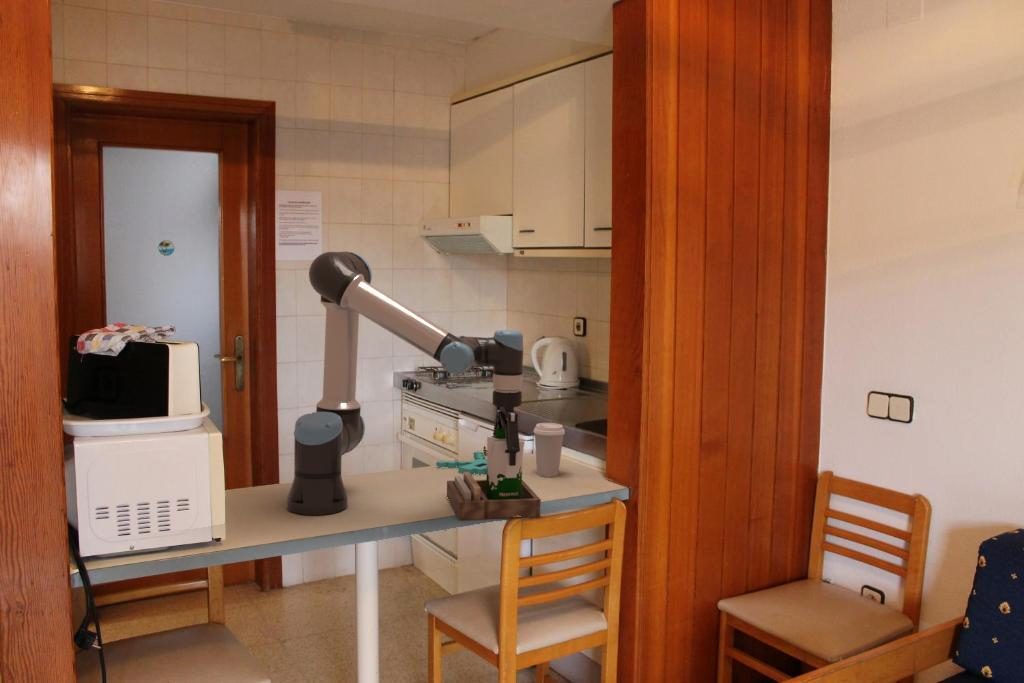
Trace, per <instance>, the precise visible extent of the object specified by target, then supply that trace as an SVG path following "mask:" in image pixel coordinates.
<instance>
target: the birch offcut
mask: <svg viewBox="0 0 1024 683" xmlns="http://www.w3.org/2000/svg"><path fill="white" fill-rule="evenodd" d="M462 479H463V481H464V482H465V484H466V485H467V487H468V488H469V490H470V491H471V501H475V500H480V495H481V488H480V486H479V485H478V484H477V482H476V481H475V480H476V479H475V478H474V477H473V475H471V474H470V472H464V474H463V477H462Z"/></svg>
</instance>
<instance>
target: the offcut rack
mask: <svg viewBox="0 0 1024 683" xmlns="http://www.w3.org/2000/svg"><path fill="white" fill-rule="evenodd" d="M475 481H476V482H477V484H478V485H479V486H480V488H481V495H480V500H475V501H464V500H463V499H462V497H461V495H460V494H459V492H458V490H457V489H456V487H455V486H454V483H455V480H446V498H447V497H448V499H449V500H448V499H447V500H448V502H449V501H450V502H449V504H450V503H451V504H450V506H451V505H452V506H451V508H452V507H453V508H452V510H453V511H454V512H455V515H456V516H457V518H458V520H459V521H471V520H472V521H473V520H496V519H497V520H500V519H503V520H505V519H511V518H510V517H512V516H514V515H519V516H521V517H522V518H521V519H524V518H525V519H526V518H529V519H531V518H541V507H542V506H541V503H542V502H541V501H542V500H541V498H540V497H539V496H538V495H537V494H536V492H534V491H533V489H531V487H530V486H529V485H528V484H527V483H526V482H525V481H524V480H523V479H522V485H521V499H506V500H488V499H487V497H486V479H475Z"/></svg>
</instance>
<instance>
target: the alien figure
mask: <svg viewBox="0 0 1024 683" xmlns="http://www.w3.org/2000/svg"><path fill="white" fill-rule="evenodd" d="M486 457H487V456H485V454H484V451H483V452H482V451H474V452H473V460H468V461H465V460H460V461H454V460H449V461H444V460H439V461H436V466H438V467H436V466H435V467H436V469H440V468H441V467H448V468H447V469H451V468H452V469H451V470H454V469H457V468H458V470H457V471H458V472H460V473H459V474H461V473H464V472H470V474H473V475H476V474H479V475H478V476H482V475H481V474H484V475H487V458H486ZM456 466H457V467H456ZM453 468H454V469H453ZM474 473H475V474H474Z"/></svg>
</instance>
